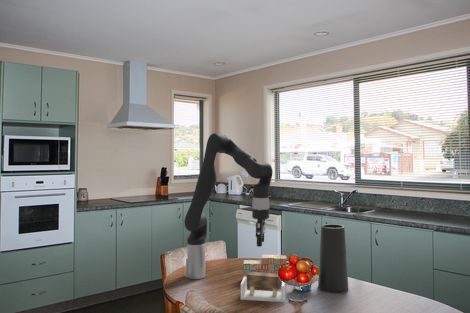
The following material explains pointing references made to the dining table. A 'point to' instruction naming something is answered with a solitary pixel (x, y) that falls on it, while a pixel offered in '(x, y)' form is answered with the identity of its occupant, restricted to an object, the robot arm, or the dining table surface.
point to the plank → (263, 280)
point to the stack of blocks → (264, 264)
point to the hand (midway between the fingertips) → (260, 244)
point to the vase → (333, 259)
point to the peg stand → (262, 293)
